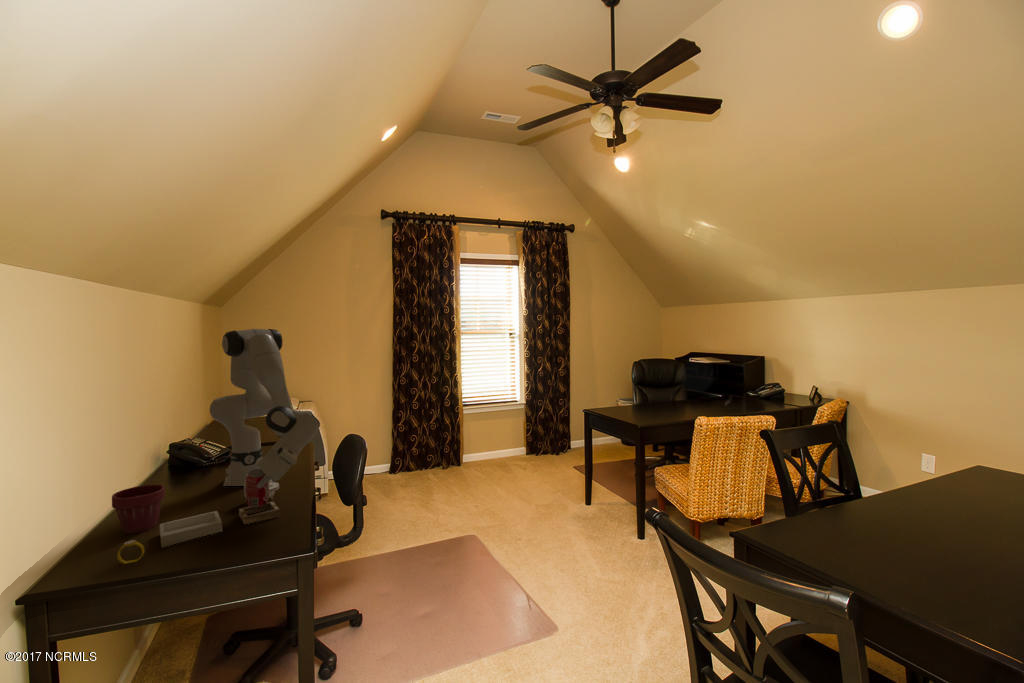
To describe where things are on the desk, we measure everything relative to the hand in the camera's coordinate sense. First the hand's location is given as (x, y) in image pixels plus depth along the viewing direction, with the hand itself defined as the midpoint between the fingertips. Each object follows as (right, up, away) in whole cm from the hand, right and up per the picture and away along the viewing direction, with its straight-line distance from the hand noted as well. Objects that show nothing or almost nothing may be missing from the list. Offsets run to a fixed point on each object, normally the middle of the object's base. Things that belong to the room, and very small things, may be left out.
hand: (255, 484), depth 165 cm
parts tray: (-14, -12, -12) cm, 22 cm away
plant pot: (-36, -13, -6) cm, 39 cm away
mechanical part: (-6, -11, +16) cm, 21 cm away
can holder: (+1, -11, 0) cm, 11 cm away
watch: (-19, -13, -31) cm, 38 cm away
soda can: (-1, -8, +3) cm, 8 cm away
